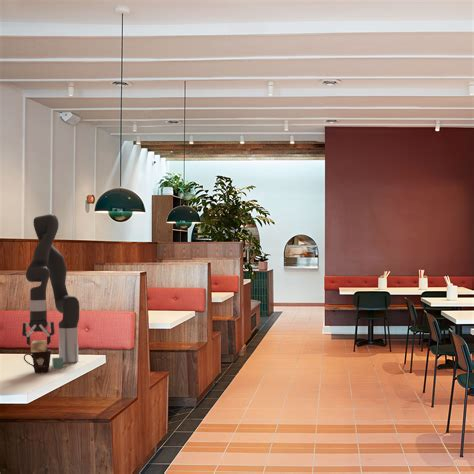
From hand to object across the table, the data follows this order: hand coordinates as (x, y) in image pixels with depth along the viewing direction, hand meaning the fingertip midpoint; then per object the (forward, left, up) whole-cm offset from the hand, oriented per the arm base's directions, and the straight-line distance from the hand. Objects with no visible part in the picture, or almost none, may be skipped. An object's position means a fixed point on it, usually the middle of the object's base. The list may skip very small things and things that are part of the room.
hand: (38, 344), depth 319 cm
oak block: (0, 0, -3) cm, 3 cm away
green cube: (-7, -11, -13) cm, 18 cm away
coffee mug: (0, 0, -13) cm, 13 cm away
